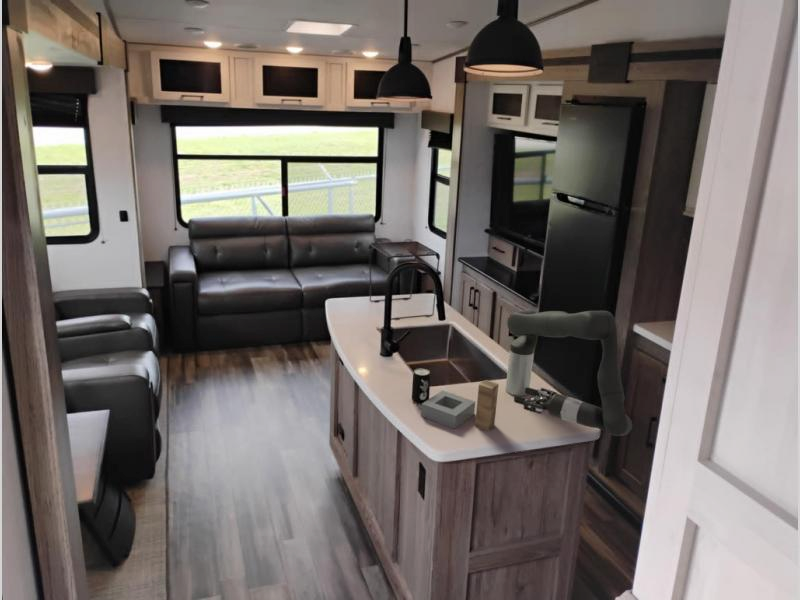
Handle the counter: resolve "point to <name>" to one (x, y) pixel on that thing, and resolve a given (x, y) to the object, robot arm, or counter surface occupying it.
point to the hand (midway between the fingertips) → (520, 394)
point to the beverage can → (421, 385)
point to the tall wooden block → (486, 404)
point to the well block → (448, 409)
